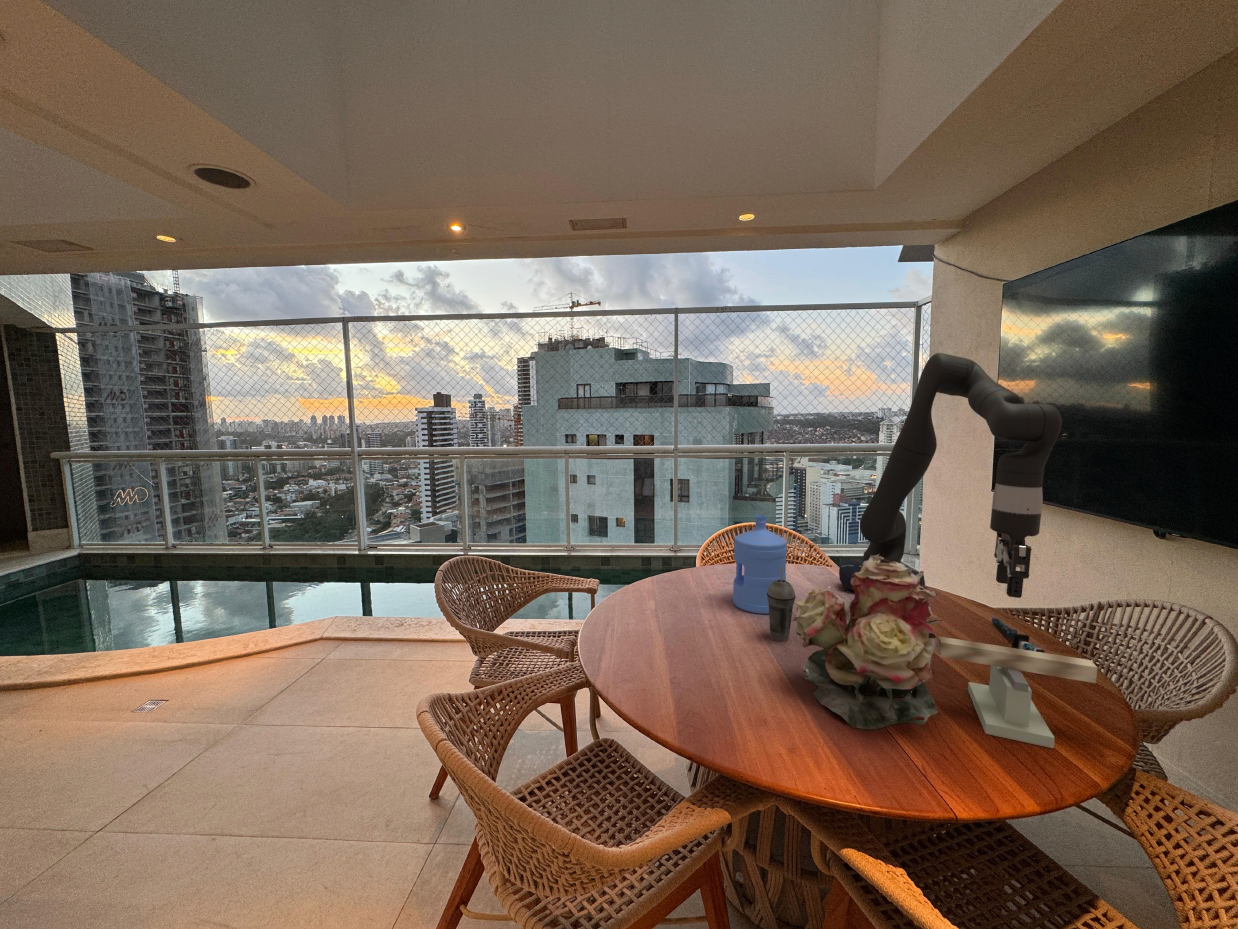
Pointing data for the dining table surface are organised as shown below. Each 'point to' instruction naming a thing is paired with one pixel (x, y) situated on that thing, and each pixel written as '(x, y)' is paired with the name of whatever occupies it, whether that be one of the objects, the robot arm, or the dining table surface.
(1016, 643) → the knife
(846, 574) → the portable speaker
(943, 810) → the dining table surface
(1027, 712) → the stand
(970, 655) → the bar
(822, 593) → the rose bouquet
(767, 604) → the water jug
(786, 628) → the beverage cup
